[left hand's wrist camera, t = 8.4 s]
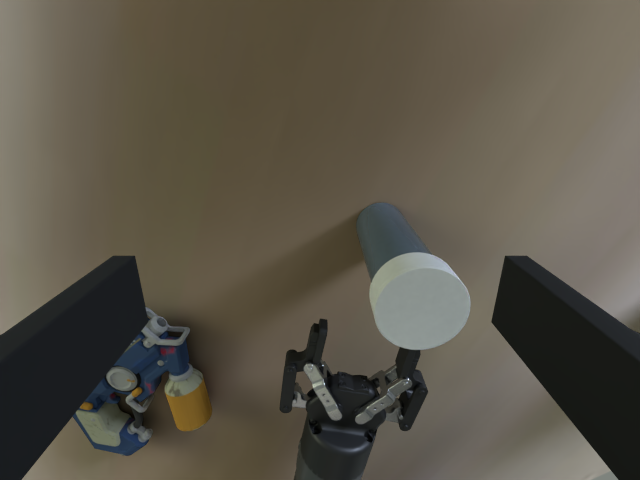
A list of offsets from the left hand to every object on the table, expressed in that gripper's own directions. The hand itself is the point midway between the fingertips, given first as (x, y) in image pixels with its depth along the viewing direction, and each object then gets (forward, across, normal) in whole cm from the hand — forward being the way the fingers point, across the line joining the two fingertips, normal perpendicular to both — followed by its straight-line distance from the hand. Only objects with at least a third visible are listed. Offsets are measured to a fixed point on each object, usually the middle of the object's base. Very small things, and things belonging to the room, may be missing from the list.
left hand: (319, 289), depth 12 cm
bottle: (+22, -6, +5) cm, 24 cm away
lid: (+7, -6, +5) cm, 11 cm away
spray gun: (+23, +21, +25) cm, 40 cm away
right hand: (+16, -4, +14) cm, 22 cm away
